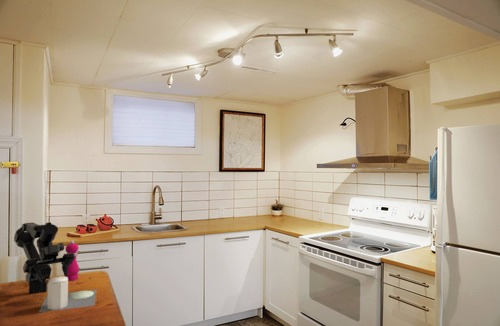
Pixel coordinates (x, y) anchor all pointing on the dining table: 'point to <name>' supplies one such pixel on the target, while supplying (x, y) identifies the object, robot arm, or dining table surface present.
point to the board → (75, 300)
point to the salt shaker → (57, 292)
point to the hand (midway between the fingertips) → (54, 279)
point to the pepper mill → (73, 267)
